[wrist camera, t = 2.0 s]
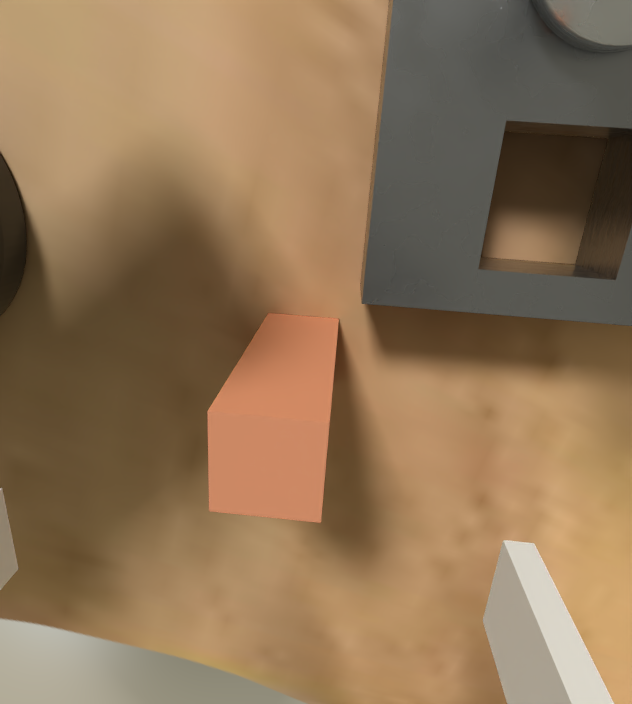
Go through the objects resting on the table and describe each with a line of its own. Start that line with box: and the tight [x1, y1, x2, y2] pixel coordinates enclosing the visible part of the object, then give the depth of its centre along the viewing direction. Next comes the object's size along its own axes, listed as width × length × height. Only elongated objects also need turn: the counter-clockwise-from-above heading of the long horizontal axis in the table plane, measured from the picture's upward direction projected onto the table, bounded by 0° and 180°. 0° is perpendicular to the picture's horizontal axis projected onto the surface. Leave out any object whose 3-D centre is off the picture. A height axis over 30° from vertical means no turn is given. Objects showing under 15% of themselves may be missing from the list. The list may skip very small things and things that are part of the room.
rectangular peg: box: [207, 313, 339, 523], centre depth 22 cm, size 4×4×12 cm
